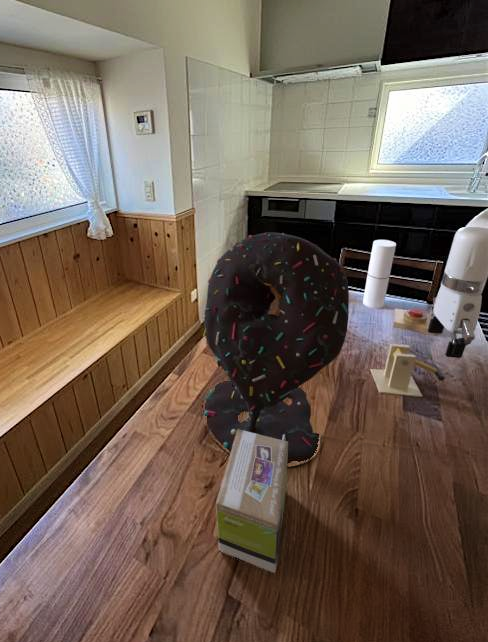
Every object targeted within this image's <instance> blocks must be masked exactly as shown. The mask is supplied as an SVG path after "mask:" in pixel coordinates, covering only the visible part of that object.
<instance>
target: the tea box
mask: <svg viewBox="0 0 488 642" xmlns="http://www.w3.org/2000/svg"><path fill="white" fill-rule="evenodd" d="M287 459H288V441H283V440H279V439H275V438H271V437H267V436H263V435H259V434H255V433H251V432H247V431H244V430H240V429H238V430H237V433H236V436H235V440H234V443H233V446H232V450H231V453H230V455H229V457H228V461H227V464H226V467H225V470H224V474H223V478H222V481H221V484H220V488H219V490H218V493H217V498H216V501H215V513H216V526H217V539H218V551H219V550H220V551H221V552H223V553H225V554H228V555H231V556H234V557H237V558H239V559H242V560H244V561H247V562H249V563H251V564H254V565H256V566H259V567H261V568H264V569H267V570H269V571H271V572H274V573H275V572H277V566H278V565H277V564H278V558H279V550H280V543H281V536H282V527H283V519H284V513H285V504H286V503H285V502H286V493H287V492H286V491H287V478H288V477H287V476H288V475H287V473H288V467H287ZM221 552H220V553H221ZM223 553H222V554H223ZM225 554H224V555H225ZM275 574H276V573H275Z"/></svg>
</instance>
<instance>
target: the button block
mask: <svg viewBox="0 0 488 642" xmlns="http://www.w3.org/2000/svg"><path fill="white" fill-rule="evenodd" d="M410 309H411V308H409V309H401V308H396V307H395V308H394V310H393V318H392V319H393V320H392V328H393V329H394V328H395V329H400V330H405V331H408V332H409V331H410V332H414V333H419V334H423V335H429V336H433V337H436V335H437V333H429V332H428V328H429V324H430V320H431V319H433V318H431V314H429V313H425V312H424V311H423V314H422V317H420V318H417V317H413V316H411V315H410V314H409V313H410Z"/></svg>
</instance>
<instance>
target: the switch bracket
mask: <svg viewBox="0 0 488 642" xmlns="http://www.w3.org/2000/svg"><path fill="white" fill-rule="evenodd" d="M398 348H400V349H402V350H404V351H406V352H408V353H409V354H398V353H396V354H395V358H394V356H393V353H394V352H395V351H396V350H397V349H398ZM410 350H411V346H410V345H409V344H399V343H390V344H389V349H388V352H387V356H386V357H387V358H386V362H385V366H384V369H379V368H377V369H376V368H370V373H371V375H372V378H373V380H374V383H375V385H376V388H377V390H378V393H379V394H386V395H395V396H396V395H397V396H406V397H408V396H409V397H415V398H417V397H418V398H423V393H421V391H420V388H419V387H418V385H417V384H416V381H415V379H414V377H413V376H412V374H413V370H414V367H415V364H414V363H415V360H417V356H416V355H415V354H410Z"/></svg>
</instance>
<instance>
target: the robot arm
mask: <svg viewBox="0 0 488 642" xmlns="http://www.w3.org/2000/svg"><path fill="white" fill-rule="evenodd" d="M487 280H488V208H486V209H484V210H483V211H481V212H480V213H479V214H478V215H476V216H474V218H472V219H471V220H470V221H469V222H468V223H467V224H466V225H465V227H461V228H459V229H458V230H457V231H456V232H455V234H454V236H453V240H452V243H451V247H450V250H449V254H448V258H447V261H446V264H445V268H444V271H443V275H442V277H441V281H440V287H439V290H438V292H437V295H436V297H433V298H432V307H431V310H432V313H431V314H430V315H431V318H433V319H431V320H430V324H429V328H428V332H429V333H436V334H439V335H442V334H443V333H444V329H446V330H447V331H448V332H449V333H450V339H451V340H450V341H448V344H447V347H446V350H445V354H444V355H445V357H446V358H456V359H461V358H463V355H464V352H465V349H466V347H467V346H468V345H470V344H471V343H472V341H474V340H475V339H476V336H475V331H476V328H477V326H478V325H477V324H478V322H479V321H478V320H479V317H480V313H481V307H482V298H483V296H482V293H483V291H484V288H485V286H486V283H487ZM458 329H459V330H458ZM460 329H461V330H460ZM458 334H459V335H461V337H458V336H457V335H458ZM457 337H458V338H457Z"/></svg>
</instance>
